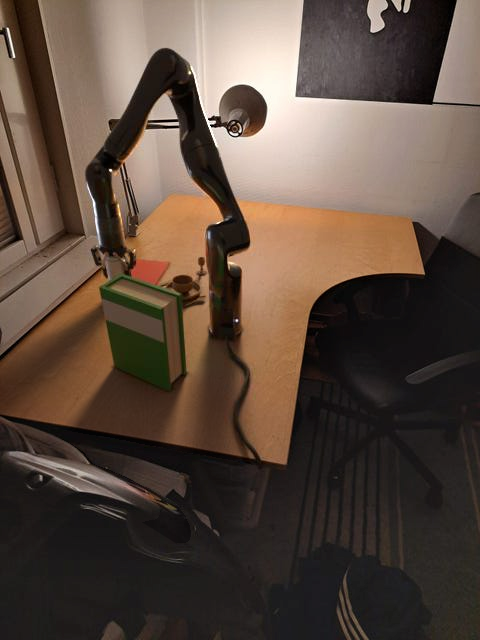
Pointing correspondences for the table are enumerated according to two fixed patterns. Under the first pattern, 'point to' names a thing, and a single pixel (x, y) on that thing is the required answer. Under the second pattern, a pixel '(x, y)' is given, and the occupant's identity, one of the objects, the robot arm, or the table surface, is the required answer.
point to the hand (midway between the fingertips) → (118, 278)
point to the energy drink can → (113, 267)
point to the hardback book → (145, 329)
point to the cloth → (148, 271)
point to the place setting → (187, 284)
